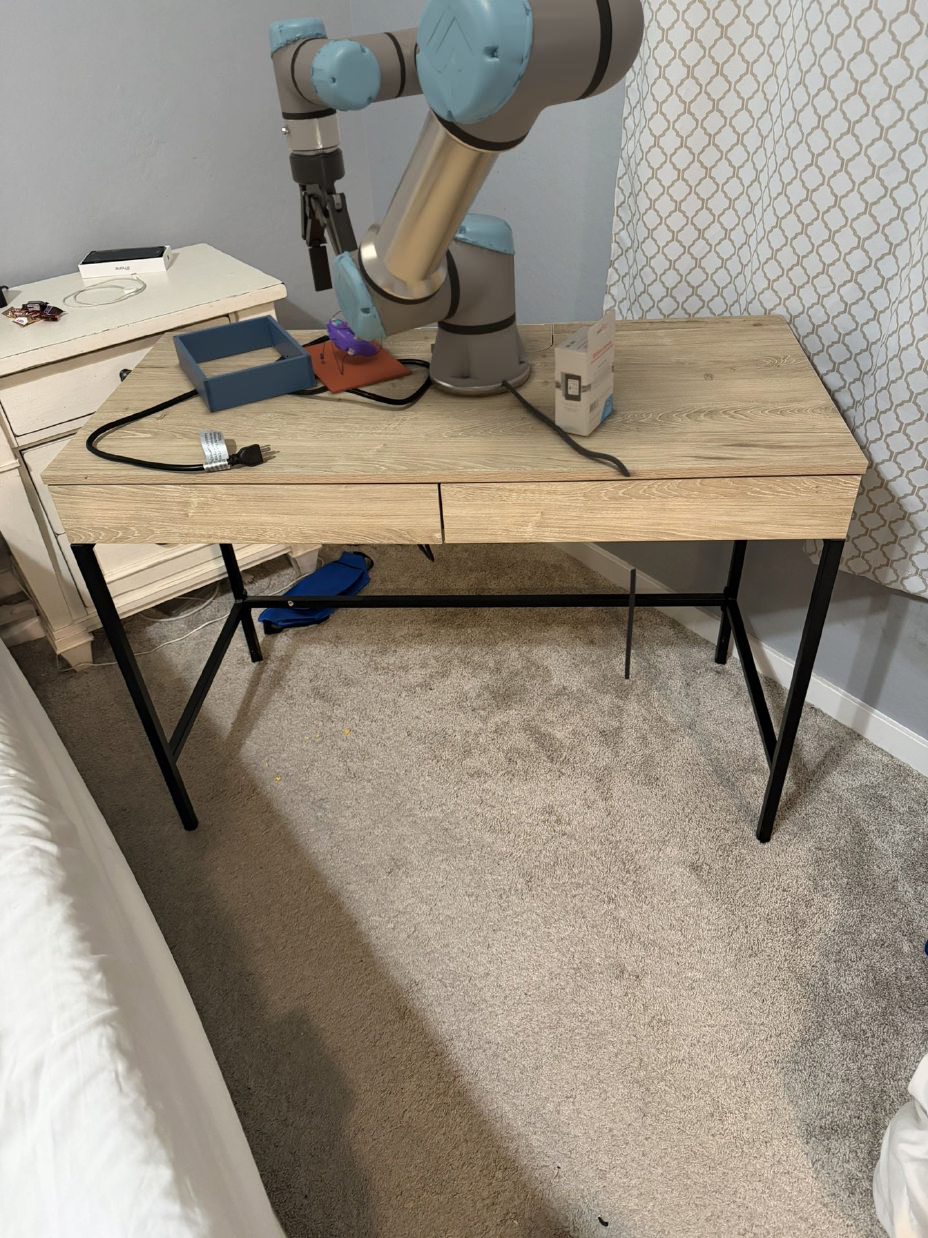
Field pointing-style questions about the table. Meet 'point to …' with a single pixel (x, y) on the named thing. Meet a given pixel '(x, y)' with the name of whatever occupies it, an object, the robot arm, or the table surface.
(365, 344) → the game controller
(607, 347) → the ink box
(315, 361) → the mat
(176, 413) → the table surface
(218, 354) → the box
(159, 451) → the table surface
